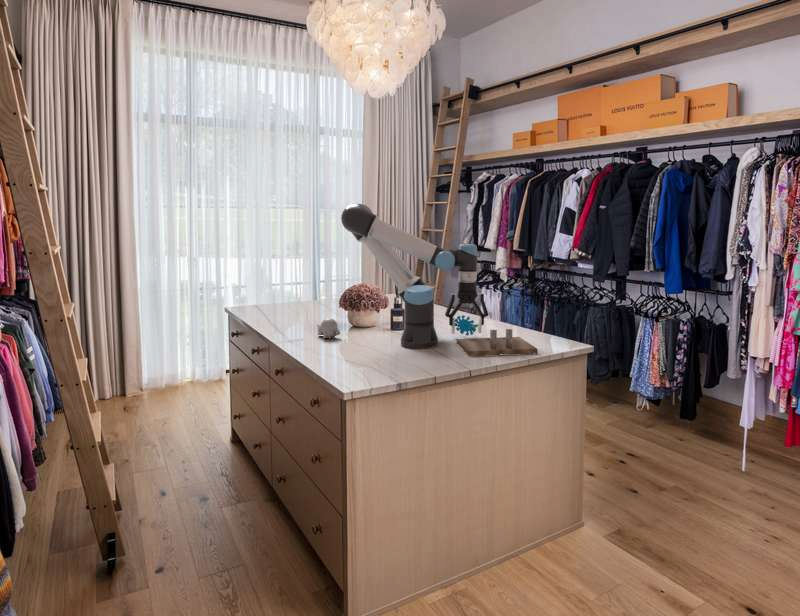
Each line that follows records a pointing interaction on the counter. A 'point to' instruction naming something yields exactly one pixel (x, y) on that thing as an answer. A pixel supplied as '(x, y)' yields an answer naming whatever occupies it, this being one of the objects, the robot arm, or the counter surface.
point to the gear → (465, 325)
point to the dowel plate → (501, 346)
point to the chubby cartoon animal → (328, 328)
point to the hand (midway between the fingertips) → (466, 332)
